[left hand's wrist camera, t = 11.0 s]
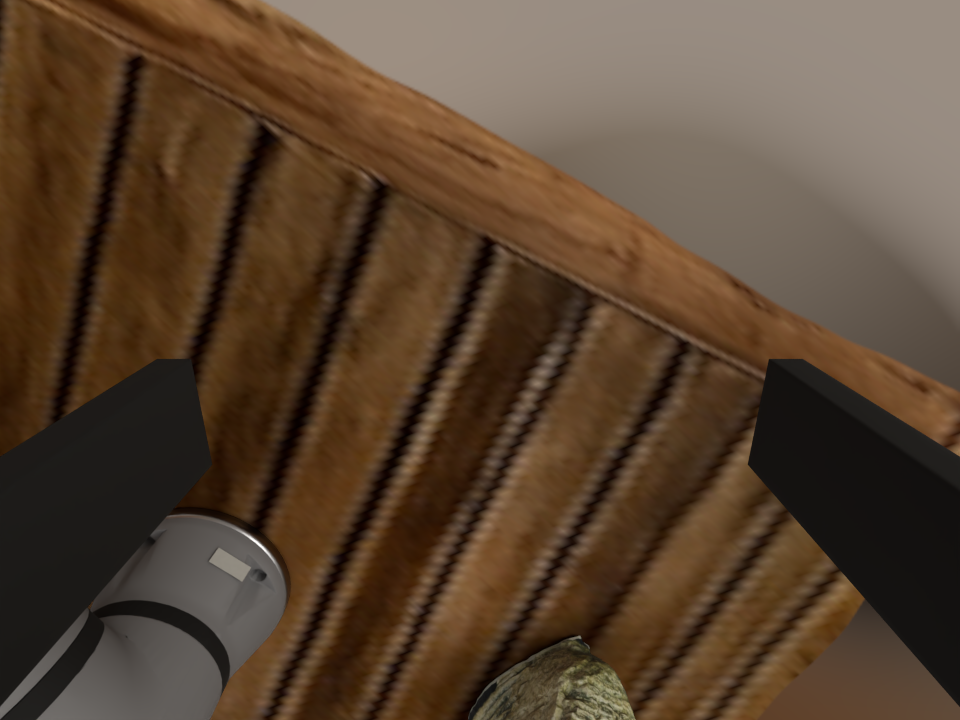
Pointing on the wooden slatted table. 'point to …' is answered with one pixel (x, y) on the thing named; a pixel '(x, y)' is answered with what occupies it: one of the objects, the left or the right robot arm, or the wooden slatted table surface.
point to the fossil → (556, 688)
